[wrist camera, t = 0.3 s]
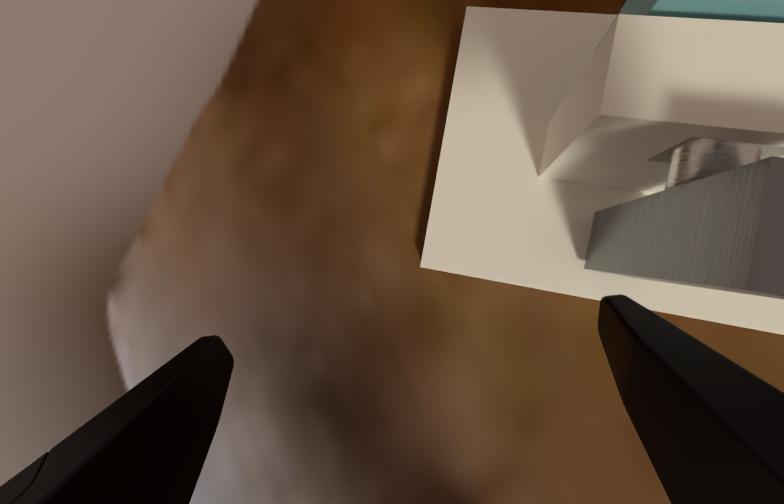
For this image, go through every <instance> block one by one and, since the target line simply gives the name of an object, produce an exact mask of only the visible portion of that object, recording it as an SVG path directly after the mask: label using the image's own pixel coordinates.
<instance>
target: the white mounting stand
mask: <svg viewBox="0 0 784 504" xmlns="http://www.w3.org/2000/svg"><path fill="white" fill-rule="evenodd" d="M616 17H617V18H616ZM615 18H616V19H615ZM614 20H615V21H614ZM613 21H614V22H613ZM612 23H613V24H612ZM611 24H612V25H611ZM610 26H611V27H610ZM609 27H610V28H609ZM608 29H609V30H608ZM607 30H608V32H607ZM606 32H607V33H606ZM605 34H606V35H605ZM604 35H605V36H604ZM603 37H604V38H603ZM602 38H603V39H602ZM601 40H602V41H601ZM600 41H601V42H600ZM599 43H600V44H599ZM598 44H599V45H598ZM597 46H598V47H597ZM596 48H597V49H596ZM595 49H596V50H595ZM594 51H595V52H594ZM593 52H594V53H593ZM690 137H698V138H708V139H717V140H726V141H736V142H745V143H754V144H763V145H765V147H764V151H763V156H762V159H765V158H768V157H771V156H774V157H783V158H784V23H770V22H752V21H734V20H716V19H698V18H680V17H662V16H644V15H626V14H619V15H618V16H617V15H614V14H596V13H578V12H560V11H542V10H524V9H506V8H488V7H470V6H467V7H466V13H465V19H464V24H463V30H462V35H461V41H460V47H459V52H458V58H457V63H456V69H455V75H454V80H453V86H452V91H451V97H450V103H449V108H448V114H447V119H446V125H445V131H444V136H443V142H442V147H441V153H440V159H439V164H438V170H437V175H436V181H435V187H434V192H433V198H432V203H431V209H430V215H429V220H428V226H427V232H426V237H425V243H424V248H423V254H422V260H421V265H420V267H423V268H428V269H434V270H439V271H444V272H450V273H455V274H461V275H466V276H471V277H477V278H482V279H487V280H493V281H498V282H503V283H509V284H514V285H519V286H525V287H530V288H536V289H541V290H546V291H552V292H557V293H562V294H568V295H573V296H578V297H584V298H589V299H595V300H600V301H601V298H602V297H604V296H609V295H619V294H621V295H625V296H627V297H629V298H631V299H632V300H634V301H635V302H637V303H639V304H640V305H642V306H644V307H645V308H647V309H648V310H653V311H659V312H664V313H670V314H675V315H680V316H686V317H691V318H696V319H702V320H707V321H712V322H718V323H723V324H729V325H734V326H739V327H745V328H750V329H755V330H761V331H766V332H771V333H777V334H782V335H784V299H777V298H770V297H763V296H756V295H749V294H742V293H735V292H728V291H721V290H714V289H707V288H700V287H694V286H687V285H680V284H673V283H666V282H659V281H652V280H645V279H640V278H634V277H628V276H622V275H616V274H611V273H605V272H599V271H593V270H588V269H584V266H585V260H586V255H587V250H588V245H589V239H590V234H591V229H592V224H593V219H594V213H595V212H597V211H600V210H603V209H606V208H609V207H612V206H616V205H619V204H622V203H625V202H628V201H632V200H635V199H638V198H641V197H644V196H647V195H651V194H654V193H657V192H660V191H663V190H665V185H666V179H667V174H668V169H669V164H670V159H671V154H672V149H673V146H674V145H676V144H678V143H680V142H682V141H684V140H686V139H688V138H690Z"/></svg>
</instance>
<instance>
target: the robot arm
mask: <svg viewBox="0 0 784 504" xmlns="http://www.w3.org/2000/svg"><path fill="white" fill-rule="evenodd" d="M598 332H599V336H600V339H601V342H602V345H603V347H604V350H605V353H606V356H607V359H608V362H609V365H610V368H611V370H612V373H613V376H614V379H615V382H616V385H617V388H618V391H619V393H620V396H621V399H622V401H623V404H624V406H625V408H626V410H627V413H628V415H629V417H630V419H631V421H632V423H633V425H634V427H635V429H636V431H637V433H638V436H639V438H640V440H641V442H642V444H643V446H644V448H645V450H646V452H647V454H648V456H649V458H650V460H651V462H652V464H653V467H654V469H655V471H656V473H657V475H658V477H659V479H660V481H661V483H662V485H663V487H664V489H665V491H666V493H667V496H668V498H669V500H670V502H671V504H784V393H783V392H782V391H780V390H778V389H777V388H775V387H774V386H772V385H770V384H769V383H767V382H765V381H764V380H762V379H761V378H759V377H757V376H756V375H754V374H752V373H751V372H749V371H748V370H746V369H744V368H743V367H741V366H739V365H738V364H736V363H735V362H733V361H731V360H730V359H728V358H726V357H725V356H723V355H722V354H720V353H718V352H717V351H715V350H713V349H712V348H710V347H709V346H707V345H705V344H704V343H702V342H700V341H699V340H697V339H696V338H694V337H692V336H691V335H689V334H687V333H686V332H684V331H683V330H681V329H679V328H678V327H676V326H674V325H673V324H671V323H670V322H668V321H666V320H665V319H663V318H661V317H660V316H658V315H657V314H655V313H653V312H652V311H650V310H648V309H647V308H645V307H644V306H642V305H640V304H639V303H637V302H635V301H634V300H632V299H631V298H629V297H627V296H625V295H621V294H619V295H609V296H604V297H602V298H601V301H600V308H599V317H598ZM233 366H234V360H233V356H232V355H231V353H230V351H229V350H228V348H227V347H226V345H225V344H224V342H223V340H222V339H221V338H220V337H219V336H216V335H213V336H204V337H201V338H199V339H198V340H196V341H195V342H194V343H192V344H191V345H190V346H188V347H187V348H186V349H184V350H183V351H182V352H180V353H179V354H178V355H176V356H175V357H174V358H172V359H171V360H170V361H168V362H167V363H166V364H164V365H163V366H162V367H160V368H159V369H158V370H156V371H155V372H154V373H152V374H151V375H150V376H148V377H147V378H146V379H144V380H143V381H142V382H140V383H139V384H138V385H136V386H135V387H134V388H132V389H131V390H129V391H128V392H127V393H126V394H124V395H123V396H121V397H120V398H119V399H117V400H116V401H115V402H114V403H112V404H111V405H110V406H108V407H107V408H105V409H104V410H103V411H101V412H100V413H99V414H97V415H96V416H95V417H93V418H92V419H91V420H90V421H88V422H87V423H85V424H84V425H83V426H82V427H80V428H79V429H77V430H76V431H75V432H73V433H72V434H71V435H70V436H68V437H67V438H65V439H64V440H63V441H61V442H60V443H59V444H57V445H56V446H55V447H53V448H52V449H51V450H50V452H47V453H45V454H44V455H42V456H41V457H40V458H38V459H37V460H36V461H35V462H33V463H32V464H31V465H29V466H28V467H27V468H25V469H24V470H22V471H21V472H20V473H18V474H17V475H15V476H14V477H13V478H11V479H10V480H9V481H7V482H6V483H5V484H3V485H2V486H0V504H189V503H190V500H191V497H192V494H193V492H194V489H195V486H196V484H197V481H198V478H199V475H200V473H201V470H202V467H203V464H204V462H205V459H206V456H207V454H208V451H209V448H210V445H211V443H212V440H213V437H214V434H215V432H216V429H217V426H218V423H219V419H220V416H221V412H222V408H223V404H224V401H225V397H226V393H227V389H228V385H229V381H230V378H231V374H232V370H233Z"/></svg>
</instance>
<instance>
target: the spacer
mask: <svg viewBox="0 0 784 504" xmlns="http://www.w3.org/2000/svg"><path fill="white" fill-rule="evenodd" d="M619 14H626V15H644V16H662V17H680V18H698V19H716V20H734V21H752V22H770V23H784V0H627V1H626V3H625V4H624V6H623V7H622V9H621V10H620V12H619V13H618V15H619ZM618 15H617V16H618ZM616 18H617V17H616ZM616 18H615V19H616ZM614 21H615V20H614ZM614 21H613V22H614ZM612 24H613V23H612ZM612 24H611V25H612ZM610 27H611V26H610ZM610 27H609V28H610ZM608 30H609V29H608ZM608 30H607V32H608ZM607 32H606V33H607ZM605 35H606V34H605ZM605 35H604V36H605ZM603 38H604V37H603ZM603 38H602V39H603ZM601 41H602V40H601ZM601 41H600V42H601ZM599 44H600V43H599ZM599 44H598V45H599ZM597 47H598V46H597ZM596 49H597V48H596ZM596 49H595V50H596ZM594 52H595V51H594ZM594 52H593V53H594Z"/></svg>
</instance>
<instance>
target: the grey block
mask: <svg viewBox="0 0 784 504" xmlns="http://www.w3.org/2000/svg"><path fill="white" fill-rule="evenodd" d="M764 147H765V145H763V144H754V143H745V142H736V141H726V140H717V139H708V138H698V137H690V138H688V139H686V140H684V141H682V142H680V143H678V144H676V145H674V146H673V149H672V154H671V159H670V164H669V169H668V174H667V179H666V185H665V190H663V191H660V192H657V193H654V194H651V195H647V196H644V197H641V198H638V199H635V200H632V201H628V202H625V203H622V204H619V205H616V206H612V207H609V208H606V209H603V210H600V211H597V212H595V213H594V219H593V224H592V229H591V234H590V239H589V245H588V250H587V255H586V260H585V266H584V269H588V270H593V271H599V272H605V273H611V274H616V275H622V276H628V277H634V278H640V279H645V280H652V281H659V282H666V283H673V284H680V285H687V286H694V287H700V288H707V289H714V290H721V291H728V292H735V293H742V294H749V295H756V296H763V297H770V298H777V299H784V158H783V157H774V156H771V157H768V158H765V159H762V156H763V151H764Z"/></svg>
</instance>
